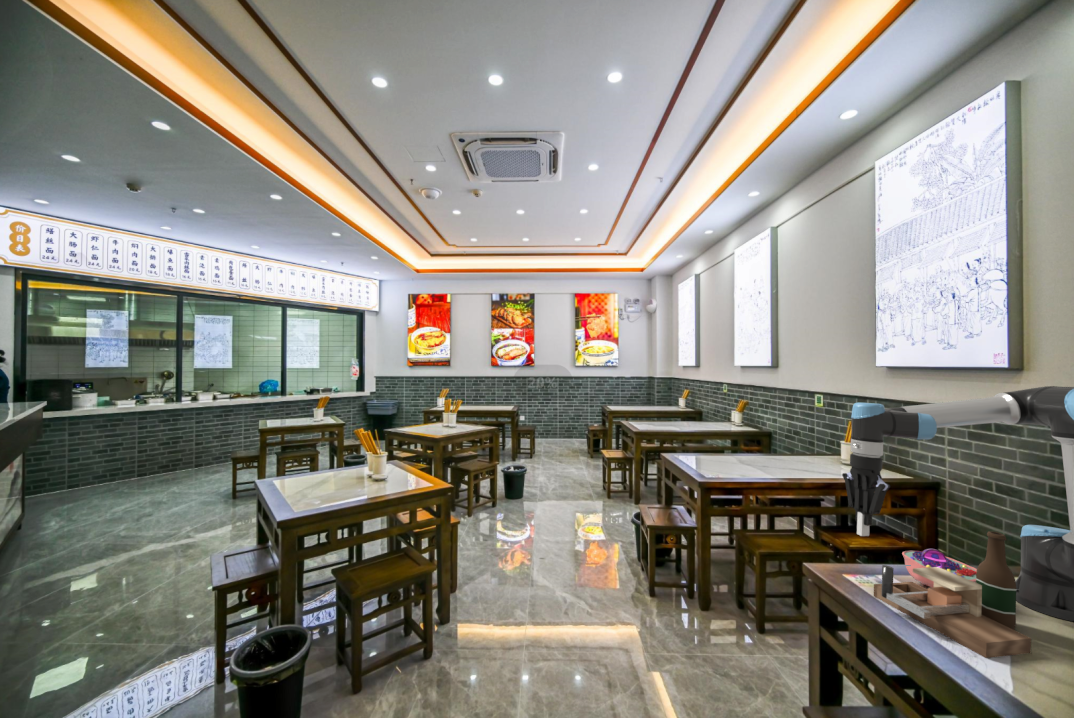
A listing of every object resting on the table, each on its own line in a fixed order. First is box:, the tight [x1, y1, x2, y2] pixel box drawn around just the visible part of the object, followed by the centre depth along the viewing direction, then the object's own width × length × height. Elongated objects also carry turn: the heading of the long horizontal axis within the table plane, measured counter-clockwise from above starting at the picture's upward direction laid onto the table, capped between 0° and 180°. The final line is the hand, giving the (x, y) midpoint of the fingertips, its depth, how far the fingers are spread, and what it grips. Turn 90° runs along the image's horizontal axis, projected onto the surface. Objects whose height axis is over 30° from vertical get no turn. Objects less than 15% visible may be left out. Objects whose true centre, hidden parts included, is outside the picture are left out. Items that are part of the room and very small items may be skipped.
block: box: [927, 587, 962, 606], centre depth 112 cm, size 5×4×4 cm
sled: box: [881, 564, 969, 619], centre depth 112 cm, size 16×11×8 cm
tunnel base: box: [873, 581, 1032, 659], centre depth 111 cm, size 14×26×4 cm, turn 11°
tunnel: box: [913, 567, 982, 617], centre depth 112 cm, size 9×10×8 cm
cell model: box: [901, 548, 977, 588], centre depth 128 cm, size 17×20×11 cm
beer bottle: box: [976, 530, 1017, 631], centre depth 112 cm, size 8×8×24 cm
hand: (862, 534), depth 123 cm, fingers closed
